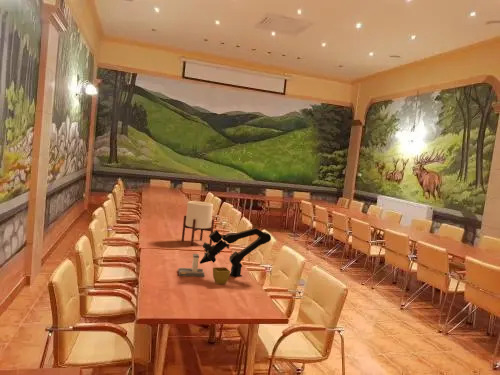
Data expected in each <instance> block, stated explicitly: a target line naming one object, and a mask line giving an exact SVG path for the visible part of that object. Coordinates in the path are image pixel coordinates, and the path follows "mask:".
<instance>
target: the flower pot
mask: <svg viewBox="0 0 500 375" xmlns="http://www.w3.org/2000/svg"><path fill="white" fill-rule="evenodd" d="M229 274H231V270H230V269H228V268H227V267H225V266H224V267H212V276H213V281H214V282H215V284H217V285H226V284H227V282H228V280H229V277H230V275H229Z"/></svg>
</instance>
